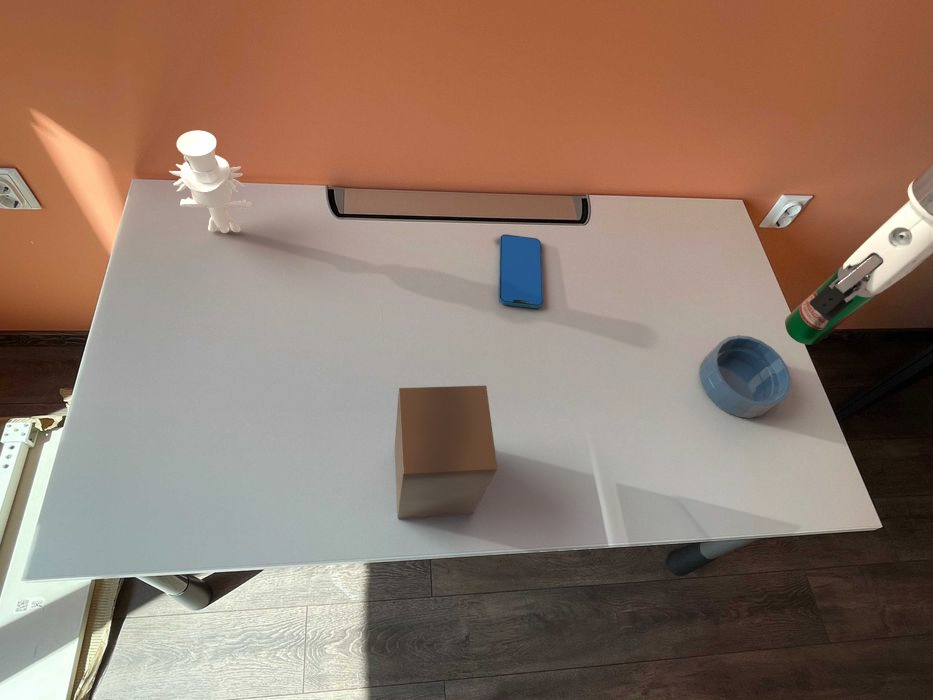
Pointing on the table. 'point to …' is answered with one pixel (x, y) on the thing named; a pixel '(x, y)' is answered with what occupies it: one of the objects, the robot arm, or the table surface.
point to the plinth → (442, 450)
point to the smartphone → (520, 271)
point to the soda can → (811, 324)
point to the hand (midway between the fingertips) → (834, 301)
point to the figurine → (208, 179)
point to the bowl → (745, 376)
